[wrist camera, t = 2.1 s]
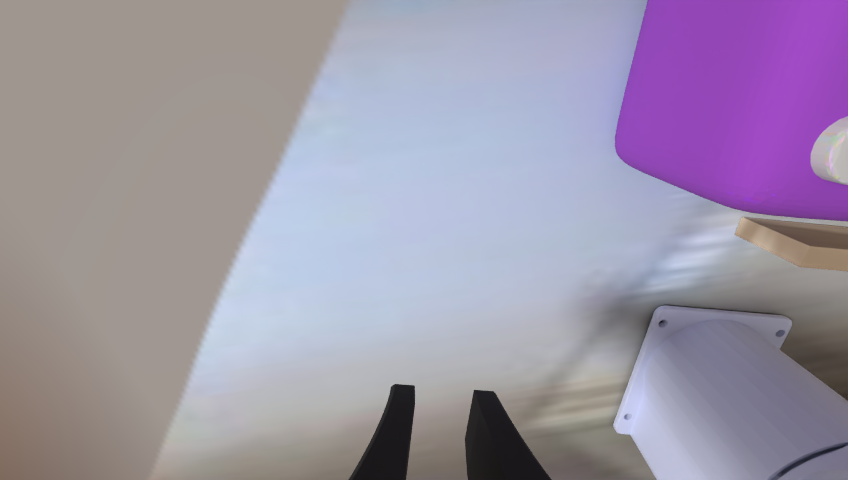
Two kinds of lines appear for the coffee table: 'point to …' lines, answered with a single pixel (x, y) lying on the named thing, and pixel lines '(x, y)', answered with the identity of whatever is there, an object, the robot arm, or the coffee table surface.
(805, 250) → the wooden tray
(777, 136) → the toy camera
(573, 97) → the coffee table surface
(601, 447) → the coffee table surface
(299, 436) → the coffee table surface
